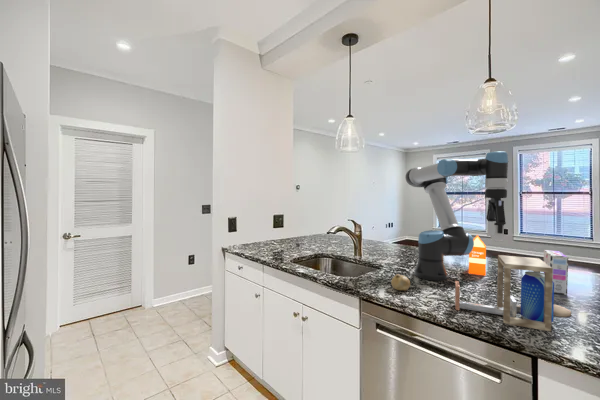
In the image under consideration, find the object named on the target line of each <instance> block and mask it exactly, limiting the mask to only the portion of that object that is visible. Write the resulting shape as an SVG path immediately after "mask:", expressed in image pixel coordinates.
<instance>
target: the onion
mask: <svg viewBox="0 0 600 400" xmlns="http://www.w3.org/2000/svg"><path fill="white" fill-rule="evenodd" d="M410 280H411V279H409V278H408V277H407V276H405V275H404V274H403V275H402V274H399V273H397V274H395V275H394V276H393V277H392V279H391V283H390V284H391V286H392V288H393V289H394V290H396V291H404V292H405V291H408V290H409V288H410V287H411V281H410Z"/></svg>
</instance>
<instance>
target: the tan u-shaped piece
mask: <svg viewBox="0 0 600 400" xmlns="http://www.w3.org/2000/svg"><path fill="white" fill-rule="evenodd" d="M460 288H461V287H460V281H459V280H454V307H455V311H460V309H464V310H470V311H475V312H481V313H487V314H494V315H499V316H503V309H504V308H502V307H497V305H496V306H494V305H489V304H483V303H482V304H480V303H475V302H470V301H462V300H460V291H461V289H460ZM517 305H518V303H517V300H516V298H515V297H514V296H513V295H510V317H515V318H517V313H518V312H517Z"/></svg>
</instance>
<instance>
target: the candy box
mask: <svg viewBox="0 0 600 400" xmlns="http://www.w3.org/2000/svg"><path fill="white" fill-rule="evenodd" d="M543 262H545V263H546V264H548V265H549V266H550V267H552V268H553V276H552V281H553V282H554V294H558V295H565V296H567V295H568V282H569V281H568V275H569V256H568V255H566V254H564V253H563V252H561V251H558V250H550V249H544V250H543ZM543 273H545V272H543Z"/></svg>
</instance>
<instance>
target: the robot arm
mask: <svg viewBox="0 0 600 400" xmlns="http://www.w3.org/2000/svg"><path fill="white" fill-rule="evenodd" d="M508 156H509V155H508V152H507V151H503V150H502V151H490V152H487V153H486V155H485V158H477V159H476V158H474V159H473V158H466V159H465V158H464V159H463V158H460V159H459V158H444V159H441V160H440V161H439V162H437V163H434V164H430V165H426V166H423V167H418V166H417V167H413V168H410V169H409V170H407V171H406V174H405V181H406V182H407V185H409V186H410V187H413V188H423V190H424V191H425V193H426V194H428V195H429V197H430V200H431V204H432V206H433V208H434V212H435V215H436V218H437V222H438V224H439V226H440V230H437V229H433V230H432V229H429V230H423V231H421V232H420V233H419V234H418V241H417V242H418V255H417V256H418V259H417V260H418V261H417V264H416V266H415V269H414V276H415V277H417V278H419V279H422V280H427V281H439V282H440V281H445V280H447V279H448V272H447V270H446V267H445V264H444V257H449V256H451V257H452V256H453V257H454V256H455V257H457V256H458V257H462V256H467V255H468V256H469V253H471V251H472V250H473V246H474V240H473V239H474V237H473V235H472V234H470V233H469V232H466V231H465V230H464V227H463V226H461V225H459V223H458V220H457V217H456V216H455V212H454V210H453V207H452V205H451V202H450V199H449V197H448V193H447V191H446V188H447V185H448V181H449V177H458V176H460V177H462V176H463V177H467V176H468V177H469V176H470V177H481V176H485V183H484V184H485V190H484V191H485V194H484V195H485V198H486V199H488V205H487V213H486V221H487V228H486V229H487V231H486V232H487V233H486V235H487V236H488V237H494V241H495V242H502V243H503V242H504V230H505V228H504V227H505V225H506V224H507V222H506V215H505V214H506V213H505V206H504V205H505V201H504V200H502V199H506V198H507V197H508V190H507V187H508V184H509V182H510V181H509V180H508V172H509V171H508V167H509V164H508V163H509V158H508Z"/></svg>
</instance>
